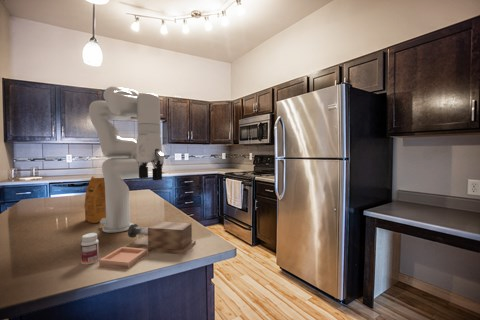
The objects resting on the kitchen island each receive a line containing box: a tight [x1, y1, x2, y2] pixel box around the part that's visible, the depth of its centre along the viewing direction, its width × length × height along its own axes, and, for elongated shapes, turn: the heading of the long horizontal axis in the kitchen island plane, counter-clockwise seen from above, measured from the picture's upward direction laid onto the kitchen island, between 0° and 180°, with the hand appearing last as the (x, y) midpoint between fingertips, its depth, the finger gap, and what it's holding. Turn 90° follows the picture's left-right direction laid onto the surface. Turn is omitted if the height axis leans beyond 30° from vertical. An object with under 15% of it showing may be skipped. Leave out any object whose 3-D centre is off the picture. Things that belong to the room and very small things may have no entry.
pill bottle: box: [80, 232, 100, 265], centre depth 75 cm, size 5×5×8 cm
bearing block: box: [125, 221, 197, 255], centre depth 87 cm, size 22×10×8 cm, turn 78°
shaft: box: [127, 223, 148, 239], centre depth 88 cm, size 13×5×5 cm, turn 78°
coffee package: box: [84, 175, 106, 224], centre depth 121 cm, size 10×12×22 cm
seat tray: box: [98, 246, 149, 269], centre depth 76 cm, size 10×10×2 cm
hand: (150, 179), depth 84 cm, fingers open, 9 cm apart
